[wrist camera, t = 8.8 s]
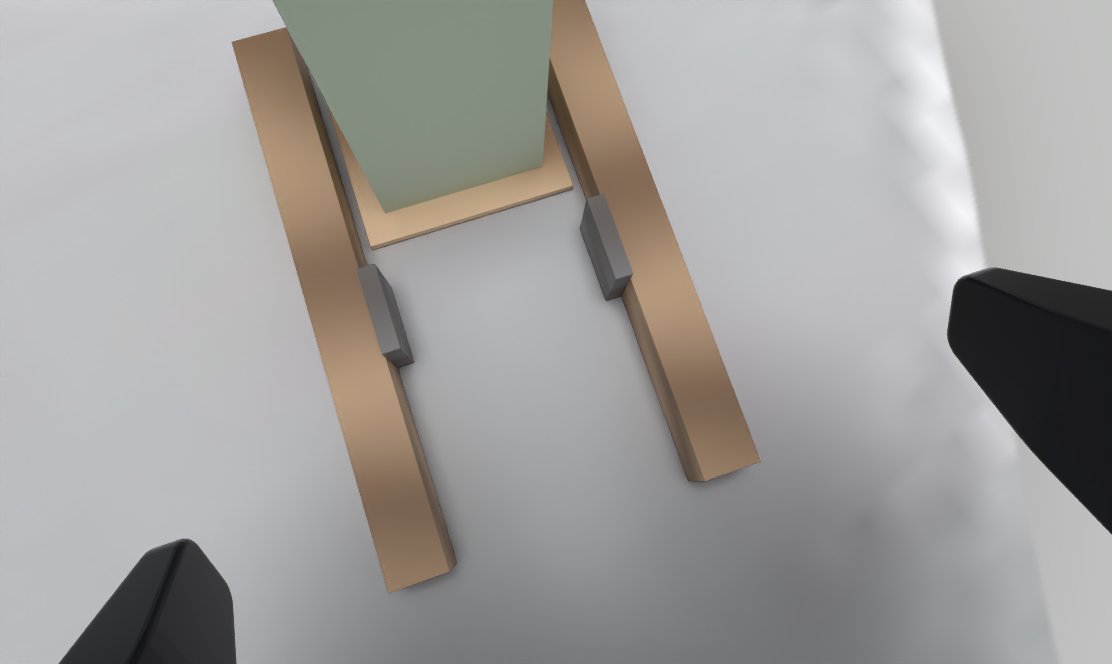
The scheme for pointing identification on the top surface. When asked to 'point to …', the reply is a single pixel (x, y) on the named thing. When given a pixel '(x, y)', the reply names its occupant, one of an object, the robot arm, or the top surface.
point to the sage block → (430, 87)
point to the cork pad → (454, 196)
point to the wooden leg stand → (374, 321)
